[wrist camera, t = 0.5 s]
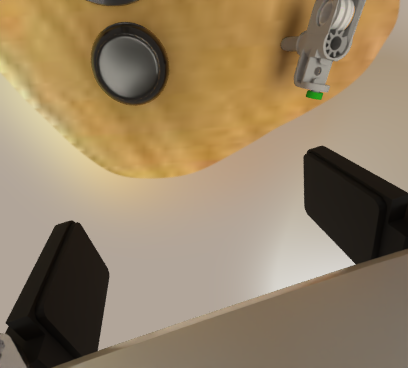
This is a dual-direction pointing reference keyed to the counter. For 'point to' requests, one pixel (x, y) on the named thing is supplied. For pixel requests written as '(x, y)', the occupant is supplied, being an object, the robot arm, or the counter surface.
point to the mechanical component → (323, 42)
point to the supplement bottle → (129, 63)
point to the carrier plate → (112, 2)
